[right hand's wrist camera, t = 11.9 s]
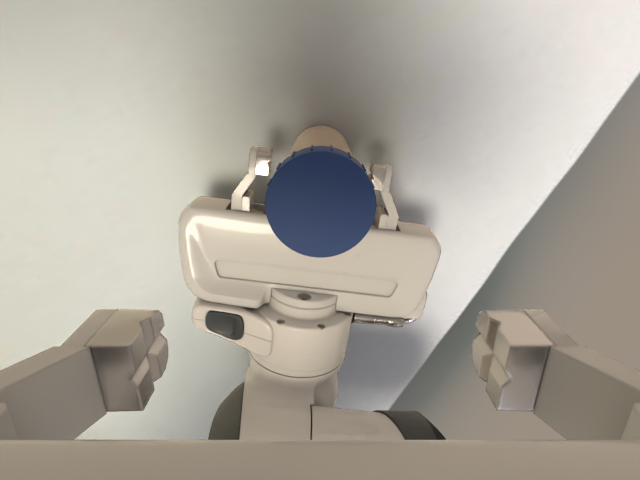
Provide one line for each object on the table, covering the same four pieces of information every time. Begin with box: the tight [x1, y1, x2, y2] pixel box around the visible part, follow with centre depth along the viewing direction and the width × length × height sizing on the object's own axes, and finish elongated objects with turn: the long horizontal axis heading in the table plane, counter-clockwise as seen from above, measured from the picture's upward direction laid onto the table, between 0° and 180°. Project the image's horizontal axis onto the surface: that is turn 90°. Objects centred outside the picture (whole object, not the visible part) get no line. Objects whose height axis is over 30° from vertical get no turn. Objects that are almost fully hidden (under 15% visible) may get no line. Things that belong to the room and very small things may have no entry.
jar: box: [288, 126, 352, 157], centre depth 28 cm, size 5×5×15 cm
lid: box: [265, 145, 377, 258], centre depth 21 cm, size 6×6×2 cm
